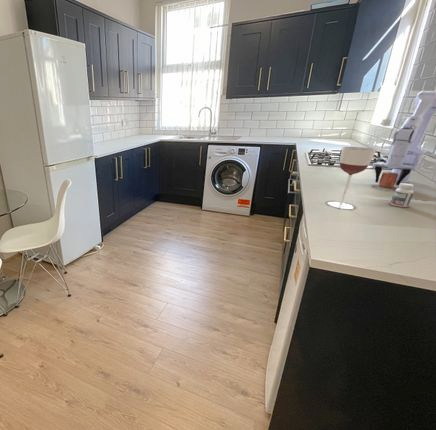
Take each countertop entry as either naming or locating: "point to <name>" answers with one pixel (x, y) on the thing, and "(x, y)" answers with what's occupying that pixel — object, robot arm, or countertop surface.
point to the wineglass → (353, 167)
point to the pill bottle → (402, 195)
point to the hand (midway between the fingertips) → (386, 183)
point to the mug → (388, 179)
